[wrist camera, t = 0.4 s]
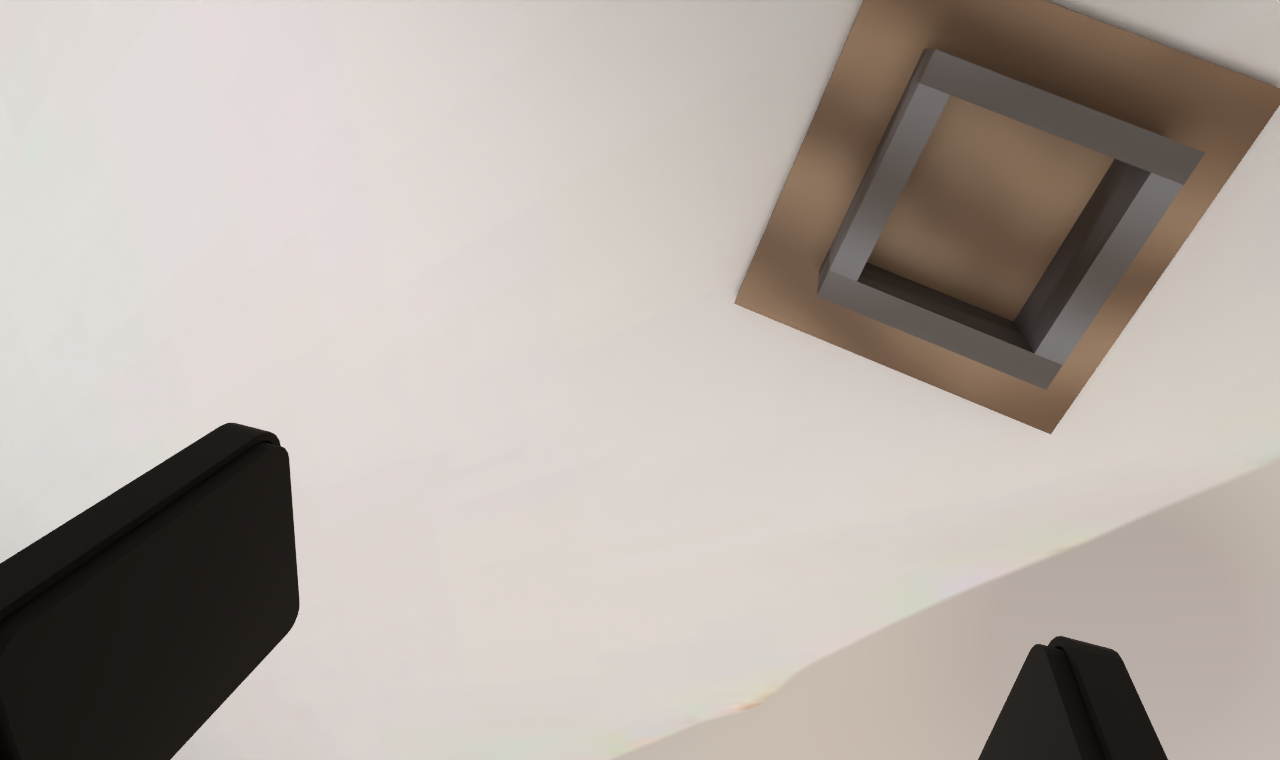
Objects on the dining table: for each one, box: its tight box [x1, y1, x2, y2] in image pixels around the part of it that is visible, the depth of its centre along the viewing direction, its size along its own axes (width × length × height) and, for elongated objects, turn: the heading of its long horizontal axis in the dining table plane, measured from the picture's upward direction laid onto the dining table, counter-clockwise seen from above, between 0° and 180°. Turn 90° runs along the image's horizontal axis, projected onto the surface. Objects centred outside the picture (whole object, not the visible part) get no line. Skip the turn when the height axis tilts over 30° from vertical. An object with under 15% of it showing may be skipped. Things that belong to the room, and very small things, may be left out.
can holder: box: [734, 0, 1280, 434], centre depth 32 cm, size 16×16×5 cm
